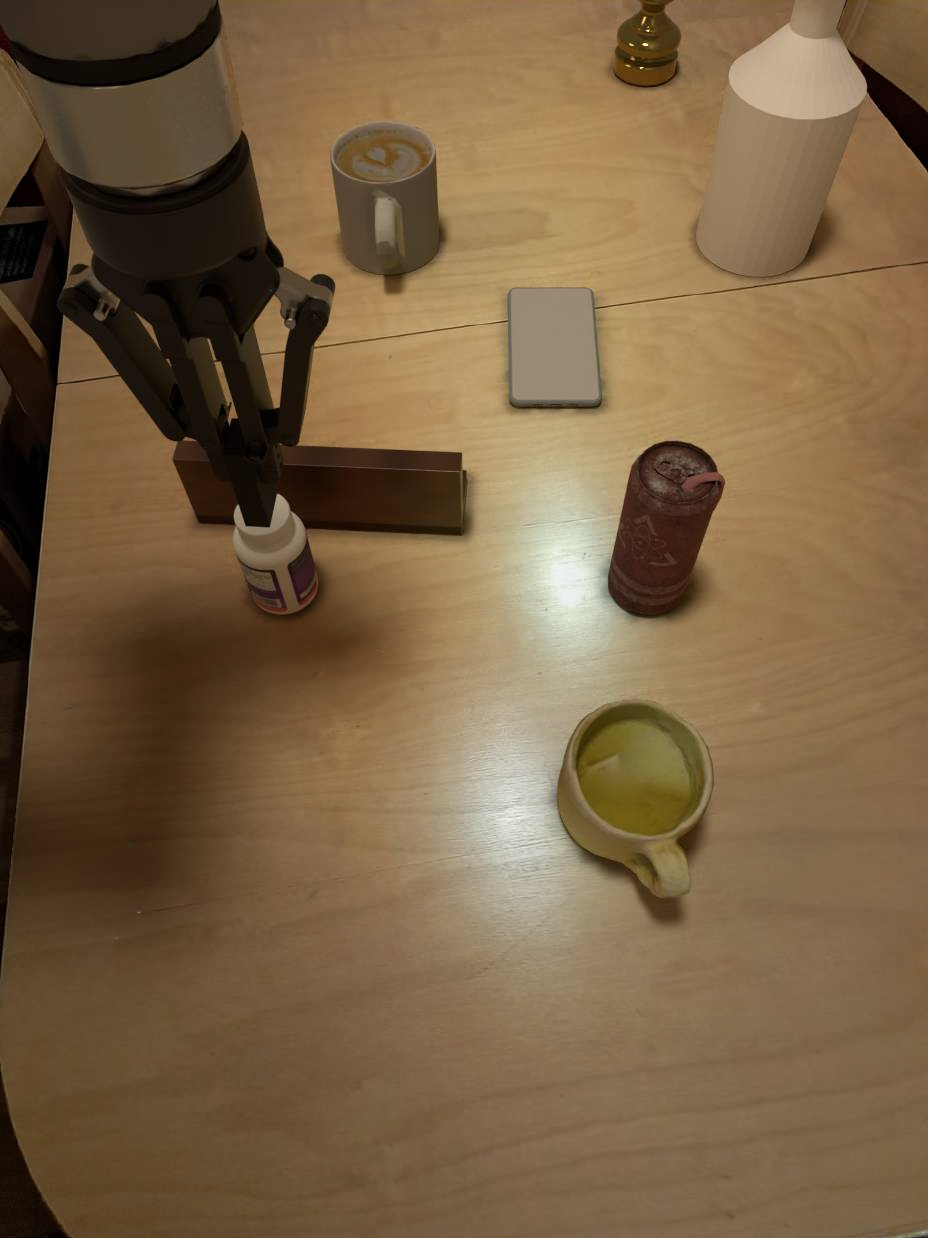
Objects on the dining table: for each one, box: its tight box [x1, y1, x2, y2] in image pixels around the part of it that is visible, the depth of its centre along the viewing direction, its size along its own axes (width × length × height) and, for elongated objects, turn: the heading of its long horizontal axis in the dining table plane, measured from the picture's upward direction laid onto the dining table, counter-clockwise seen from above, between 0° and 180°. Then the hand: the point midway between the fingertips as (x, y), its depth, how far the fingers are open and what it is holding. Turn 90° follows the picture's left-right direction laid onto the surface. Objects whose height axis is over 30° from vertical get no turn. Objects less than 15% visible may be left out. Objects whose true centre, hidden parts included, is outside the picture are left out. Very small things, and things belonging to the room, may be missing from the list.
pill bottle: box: [232, 494, 319, 616], centre depth 71 cm, size 5×5×10 cm
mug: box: [556, 698, 715, 899], centre depth 61 cm, size 12×10×10 cm
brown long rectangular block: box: [171, 439, 468, 536], centre depth 76 cm, size 22×6×8 cm, turn 86°
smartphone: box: [507, 286, 603, 407], centre depth 88 cm, size 8×1×15 cm
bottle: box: [695, 0, 868, 278], centre depth 85 cm, size 12×12×25 cm
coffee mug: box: [329, 120, 441, 276], centre depth 91 cm, size 13×10×10 cm
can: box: [607, 440, 726, 615], centre depth 68 cm, size 6×6×14 cm
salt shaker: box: [613, 0, 682, 87], centre depth 108 cm, size 7×7×10 cm
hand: (261, 509), depth 58 cm, fingers closed
